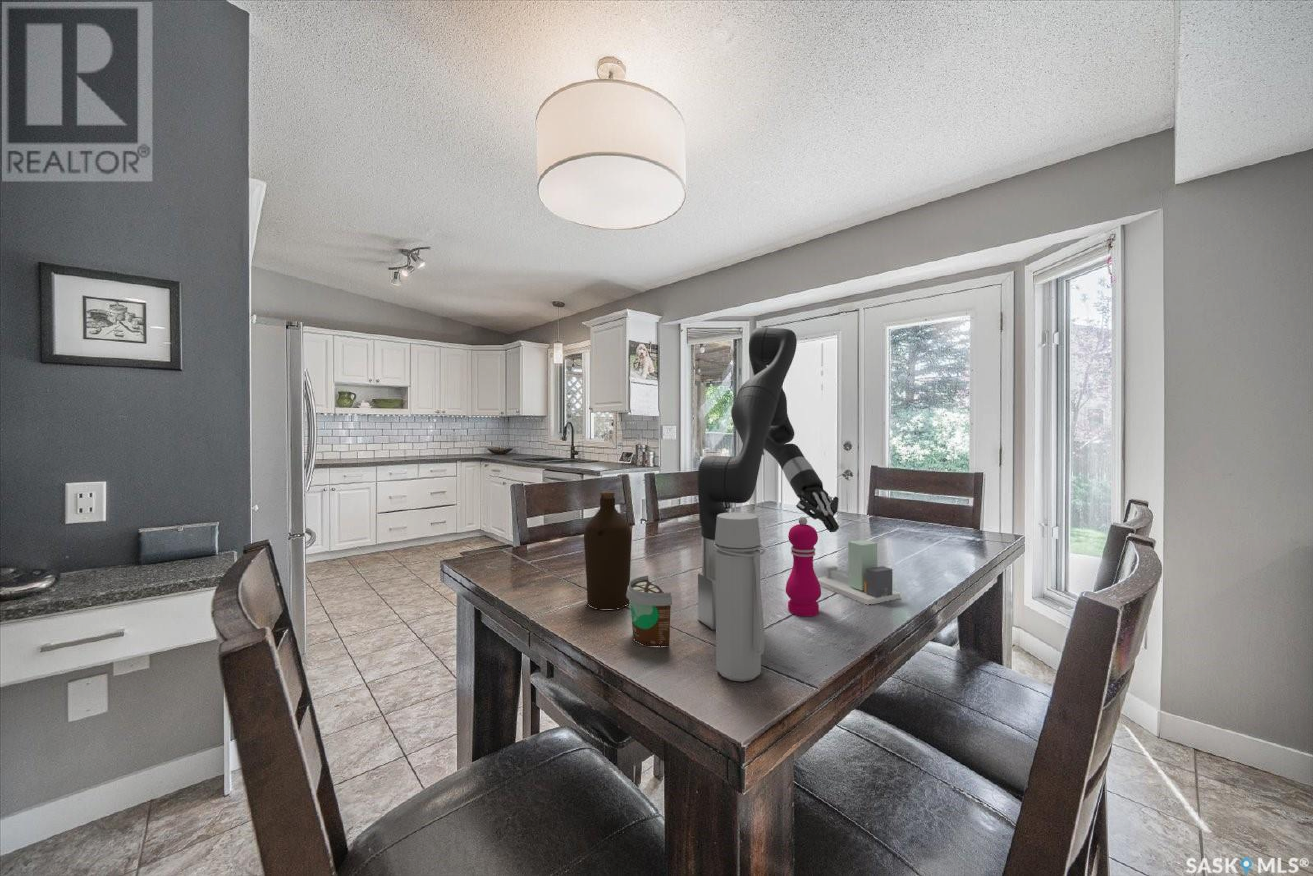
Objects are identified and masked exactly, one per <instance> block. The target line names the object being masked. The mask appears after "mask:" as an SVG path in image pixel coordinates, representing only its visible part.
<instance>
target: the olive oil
mask: <svg viewBox="0 0 1313 876" xmlns="http://www.w3.org/2000/svg"><path fill="white" fill-rule="evenodd" d="M599 493H600V494H599V495H600V497H599V509H598V511H597V512H596V513H595V514H594V515H593V516H592V517H591V519H589V521H588V522H587V524H586V526H585V529H584V532H583V546H584V561H585V562H584V563H585V576H586V578H585V579H586V601H587V603H586V604H587V605H588V604H589V605H590V606H592V607H594V608H597V609H617V608H621V607H623V606H625V605H627V604H628V605H630V600H629V599H628V598H627V597H626V593H627V588H628V586H629V583H630V581H631V565H632V564H631V562H632V560H631V559H632V541H633V540H632V539H633V538H632V537H633V535H632V530H631V526H630V524H629V522H628V521H627V520H626V519H625V517H623V515H622V514H620V512H619V511H618V510H617V509H616V497H615V495H616V494H615V493H616V492H615V491H613V490H605V491H601V492H599ZM628 605H627V606H628ZM621 609H622V608H621ZM617 610H618V609H617Z"/></svg>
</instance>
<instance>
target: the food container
mask: <svg viewBox="0 0 1313 876" xmlns="http://www.w3.org/2000/svg"><path fill="white" fill-rule="evenodd" d="M626 597H627V598H628V599H629V600H630V602H629V605H630V616H631V617H630V618H631V626H632V628H631V629H632V639H633V638H634V639H635V641H637V642H639V643H641V644H643V645H646V646H660V647H661V646H669V647H670V639H671V638H670V637H671V636H670V635H671V606H673V599H672V598H673V596H672V592H664V591H663V590H662V589H661V587H659V586H658V585H656V584H654V583H653V582H651V581H650V579H649V575H643V576H638V577H636V578H633V579H632V580H630V583H629V586H628V588H627V593H626ZM635 641H634V642H635ZM646 646H645V647H646Z"/></svg>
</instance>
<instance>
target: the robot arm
mask: <svg viewBox="0 0 1313 876" xmlns="http://www.w3.org/2000/svg"><path fill="white" fill-rule="evenodd" d="M797 341H798V340H797V335H796V333H795V332H794V331H793V330H792V329H788V328H781V327H780V328H779V327H757V328H755V329H753V330H752V332H751V334H750V337H749V341H748V342H749V343H748V355H749V361H750V365H751V368H752V373H753V376H752V377H750V378H749V379H747V380H746V381H745V382H744V383H743V384H742V385H741V387H739V389H738V392H737V394H736V397H735V399H734V402H733V405H732V408H731V420H732V423H733V425H734V428H735V429H736V431H737V433H738V436H739V438H740V440H741V443H742V444H741V445H742V446H741V450H740V452H739V454H738V455H737V456H736V455H735V456H732V455H731V456H729V455H728V456H727V455H708V456H706V457H704V458H702V460H701V461H700V463H699V466H698V468H697V469H698V470H697V480H696V481H697V497H698V500H697V501H698V515H699V518H698V519H699V524H700V528H701V572H698V573H697V620H699V621H700V622H701V623H702V624H704V625H706V626H707V627H708V628H710V629H711V630H713V631H716V570H715V551H716V549H717V548H716V547H715V546H714V542H715V532H716V521H717V515H718V514H722V513H730V511H728V509H726V508H725V506H724V503H726V504H727V503H728V504H744V503H748V502H749V501H750V500H751V498H752V496H753V495H754V492H755V489H756V487H757V486H756V485H757V481H758V476H759V471H760V467H761V462H762V457H763V452H764V450H765V452H767V453H769V454H770V455H771V457H773V458H774V459H775V460H776V461H777V463H778V465H779V466H780V468H781V470H782V472H783V474H784V476H785V478H786V481H787V482H788V484H789V485H790V487H791V489H792V490H793V493H794V494H795V495H796V497H797V498H798V499H799V501H798V502H797V503H796V505H795V506H796V508H797V509H798V510H800V511H801V512H802V513H804V514H806V515H807V516H809V517H810V518H812V519H813V520H819V521H821V522H822V524H823V525H824V527H825V528H826V530H827V531H828V532H829V533H835V532H837V531H838V530H839V527H840V525H839V523H838V522H837V520H836V518H835V517H834V516H835V515H836V514H837V513H838V508H839V500H840V499H839V497H838V496H834V497H832V496H830V495H829V493H828V492H827V491H826V490H825V489H824V485H823V481H822V480H821V478H820V477H819V474H817V471H815V469H814V467H813V466H812V464H811V462H809V461H808V459H806V457H805V455H804V454H803V452H802V451H801V449H800V447H799V446H798V445H797V444H795V443H791V442H792V441H793V439H795V438H794V437H795V430H794V427H793V425H792V424H791V421H790V418H789V414H788V400H787V396H786V395H787V394H786V392H785V391H784V389H783V385H784V383H785V379H786V377H787V375H788V372H789V370H790V368H791V365H792V363H793V361H794V357H795V355H796V351H797V345H798V343H797Z"/></svg>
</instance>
